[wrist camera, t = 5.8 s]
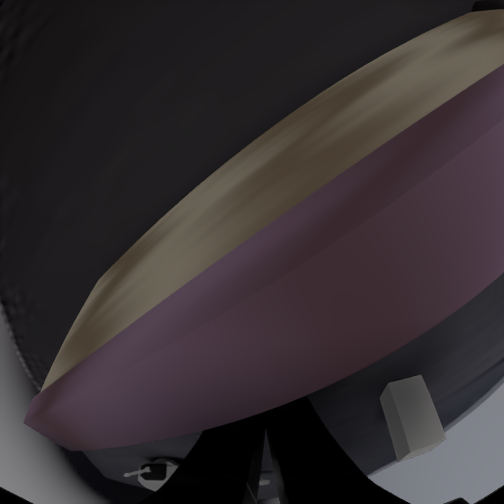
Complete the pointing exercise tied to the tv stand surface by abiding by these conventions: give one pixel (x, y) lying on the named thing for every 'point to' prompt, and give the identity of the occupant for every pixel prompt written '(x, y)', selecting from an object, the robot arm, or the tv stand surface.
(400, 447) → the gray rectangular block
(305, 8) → the tv stand surface
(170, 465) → the robot toy
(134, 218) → the tv stand surface
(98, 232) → the tv stand surface
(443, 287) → the beige flat panel
